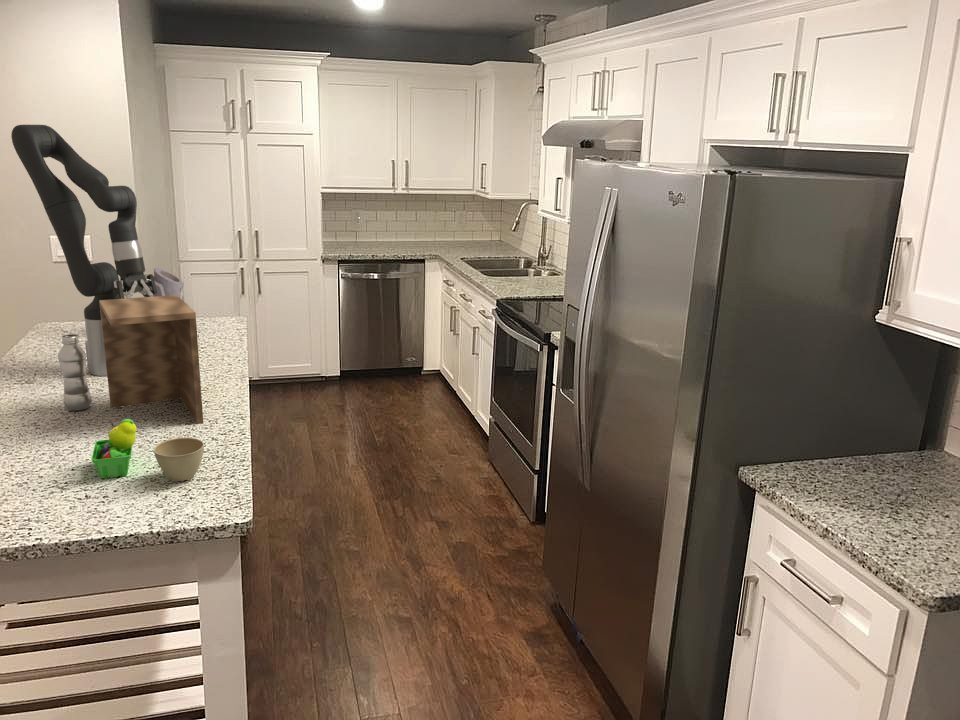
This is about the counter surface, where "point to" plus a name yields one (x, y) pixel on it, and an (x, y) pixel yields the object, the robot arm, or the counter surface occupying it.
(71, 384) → the plastic bottle
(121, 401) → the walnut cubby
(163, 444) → the flower pot
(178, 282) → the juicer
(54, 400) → the counter surface
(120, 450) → the fruit basket
